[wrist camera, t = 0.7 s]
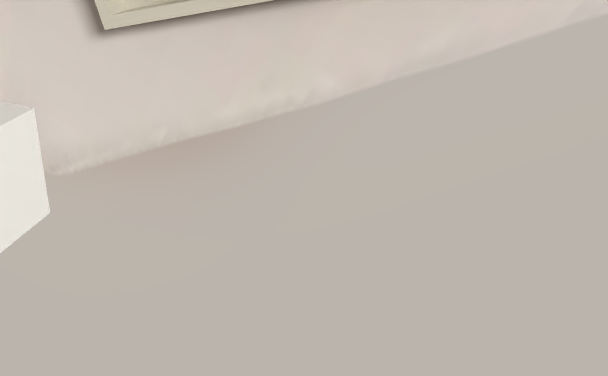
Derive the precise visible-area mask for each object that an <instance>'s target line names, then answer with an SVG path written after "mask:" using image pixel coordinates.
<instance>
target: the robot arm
mask: <svg viewBox="0 0 608 376" xmlns="http://www.w3.org/2000/svg"><path fill="white" fill-rule="evenodd" d="M49 213H50V208H49V202H48V195H47V189H46V182H45V176H44V170H43V163H42V157H41V150H40V144H39V138H38V131H37V125H36V118H35V112H34V108H31V107H26V106H22V105H18V104H13V103H9V102H5V101H2V102H0V253H1V252H2V251H3V250H4V249H6V248H7V247H8V246H10V245H11V244H12V243H13V242H15V241H16V240H17V239H18V238H20V237H21V236H22V235H23V234H24V233H26V232H27V231H28V230H29V229H31V228H32V227H33V226H34V225H36V224H37V223H38V222H39V221H41V220H42V219H43V218H44V217H45V216H47V215H48V214H49Z"/></svg>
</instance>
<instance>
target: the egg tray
mask: <svg viewBox="0 0 608 376" xmlns="http://www.w3.org/2000/svg"><path fill="white" fill-rule="evenodd" d="M94 1H95V4H96V7H97V9H98V12H99V15H100V18H101V21H102V24H103V26H104V29H105V30H107V29H113V28H118V27H124V26H130V25H135V24H141V23H147V22H153V21H158V20H164V19H170V18H175V17H181V16H187V15H192V14H198V13H204V12H209V11H215V10H221V9H226V8H232V7H238V6H244V5H249V4H255V3H261V2H266V1H272V0H94Z"/></svg>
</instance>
